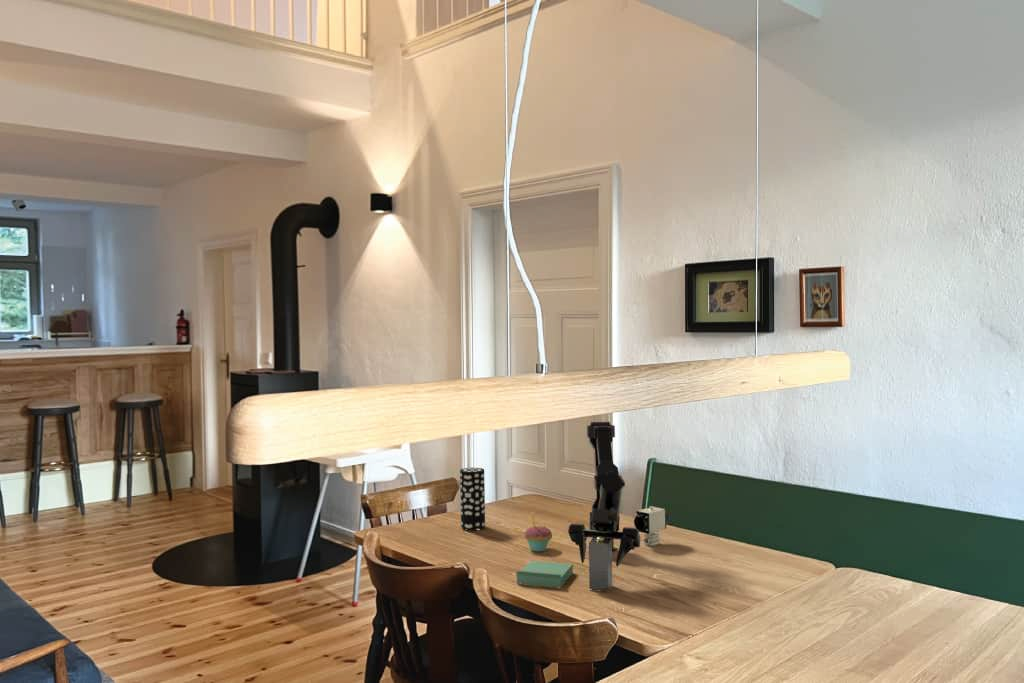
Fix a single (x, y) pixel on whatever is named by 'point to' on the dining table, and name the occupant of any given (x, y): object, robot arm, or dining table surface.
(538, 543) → the cupcake
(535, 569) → the coupler stand
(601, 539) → the block
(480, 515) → the white-spotted black cylinder
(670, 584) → the dining table surface
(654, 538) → the white security camera
